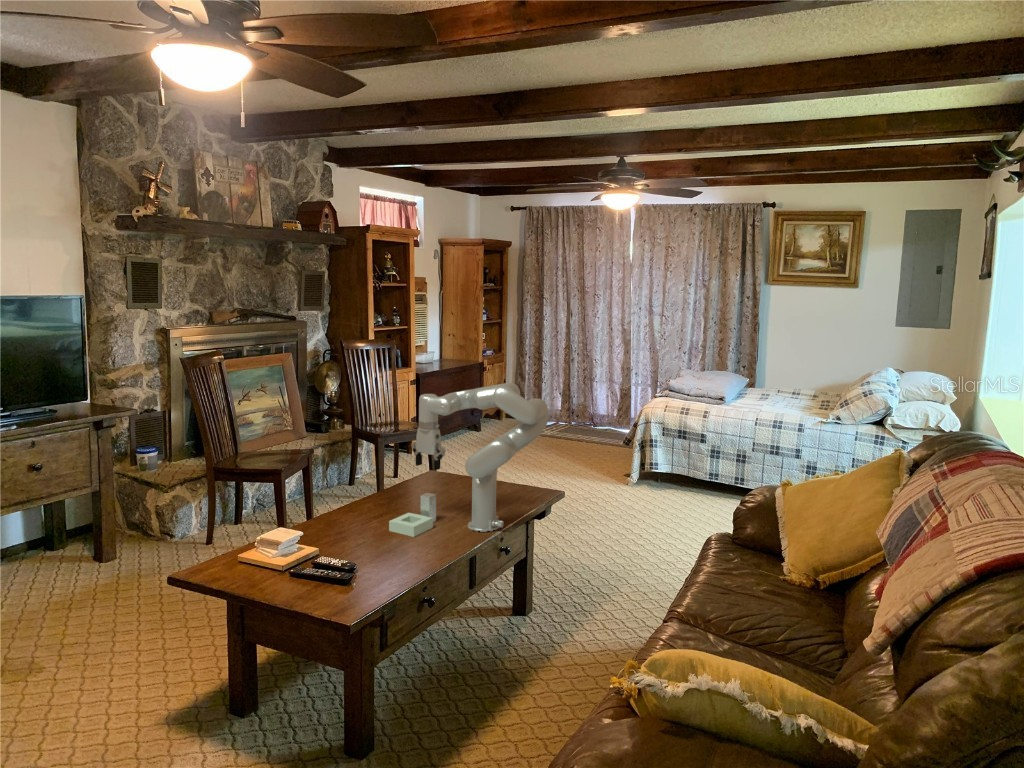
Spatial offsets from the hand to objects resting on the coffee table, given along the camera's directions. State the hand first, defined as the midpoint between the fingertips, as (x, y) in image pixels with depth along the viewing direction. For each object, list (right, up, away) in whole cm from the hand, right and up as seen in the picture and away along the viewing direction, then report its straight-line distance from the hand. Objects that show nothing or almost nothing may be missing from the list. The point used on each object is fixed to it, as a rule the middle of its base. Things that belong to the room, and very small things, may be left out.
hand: (427, 467), depth 287 cm
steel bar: (0, -22, +2) cm, 22 cm away
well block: (-6, -23, -7) cm, 25 cm away
